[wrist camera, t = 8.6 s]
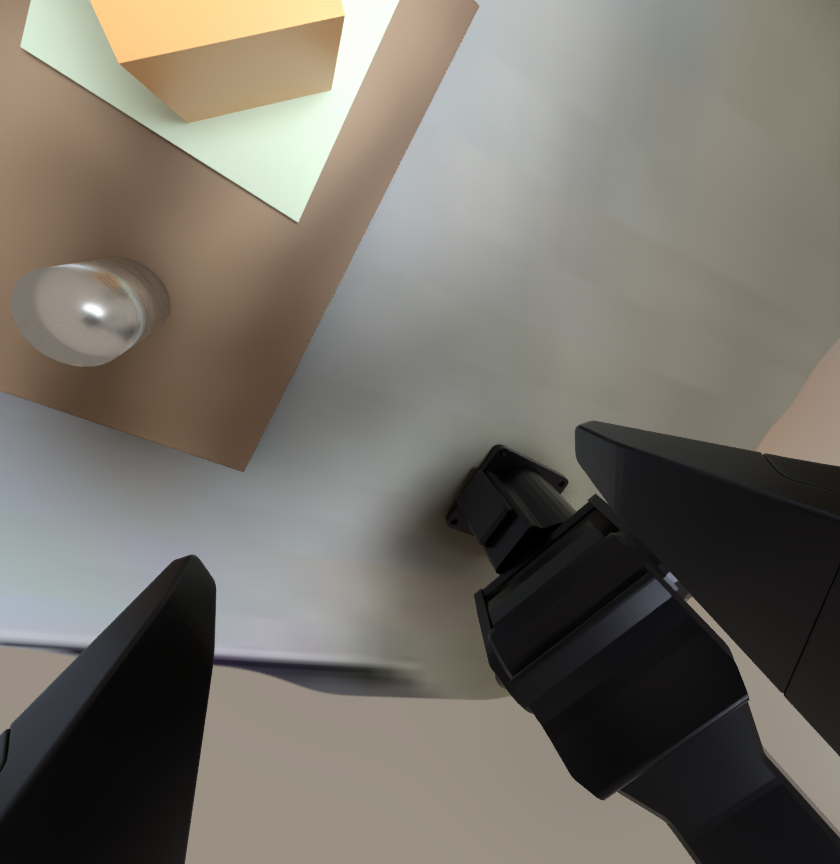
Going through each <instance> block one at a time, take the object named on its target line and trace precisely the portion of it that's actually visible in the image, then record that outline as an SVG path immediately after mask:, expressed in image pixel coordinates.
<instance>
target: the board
mask: <svg viewBox="0 0 840 864" xmlns="http://www.w3.org/2000/svg"><path fill="white" fill-rule="evenodd" d="M30 2H31V0H0V391H3V392H6V393H9V394H12V395H15V396H18V397H21V398H24V399H27V400H30V401H33V402H36V403H39V404H42V405H45V406H48V407H51V408H54V409H57V410H60V411H63V412H66V413H69V414H71V415H74V416H77V417H80V418H83V419H86V420H89V421H92V422H95V423H98V424H101V425H104V426H107V427H110V428H113V429H116V430H119V431H122V432H125V433H128V434H131V435H134V436H137V437H140V438H143V439H146V440H149V441H152V442H155V443H158V444H161V445H164V446H167V447H170V448H173V449H176V450H179V451H182V452H185V453H188V454H191V455H194V456H197V457H200V458H203V459H206V460H209V461H212V462H215V463H218V464H221V465H224V466H227V467H230V468H233V469H236V470H239V471H242V472H244V471H245V469H246V467H247V465H248V463H249V461H250V459H251V457H252V455H253V453H254V451H255V449H256V447H257V445H258V443H259V441H260V439H261V437H262V435H263V433H264V431H265V429H266V427H267V425H268V423H269V421H270V419H271V417H272V415H273V413H274V411H275V409H276V407H277V405H278V403H279V401H280V399H281V397H282V395H283V393H284V391H285V389H286V387H287V385H288V384H289V382H290V380H291V378H292V376H293V374H294V372H295V370H296V368H297V366H298V364H299V362H300V360H301V358H302V356H303V354H304V352H305V350H306V348H307V346H308V344H309V342H310V340H311V338H312V336H313V334H314V332H315V330H316V328H317V326H318V324H319V322H320V320H321V318H322V316H323V314H324V312H325V310H326V308H327V306H328V304H329V302H330V300H331V298H332V297H333V295H334V293H335V291H336V289H337V287H338V285H339V283H340V281H341V279H342V277H343V275H344V273H345V271H346V269H347V267H348V265H349V263H350V261H351V259H352V257H353V255H354V253H355V251H356V249H357V247H358V245H359V243H360V241H361V239H362V237H363V235H364V233H365V231H366V229H367V227H368V225H369V223H370V221H371V219H372V217H373V215H374V213H375V212H376V210H377V208H378V206H379V204H380V202H381V200H382V198H383V196H384V194H385V192H386V190H387V188H388V186H389V184H390V182H391V180H392V178H393V176H394V174H395V172H396V170H397V168H398V166H399V164H400V162H401V160H402V158H403V156H404V154H405V152H406V150H407V148H408V146H409V144H410V142H411V140H412V138H413V136H414V134H415V132H416V130H417V128H418V126H419V125H420V123H421V121H422V119H423V117H424V115H425V113H426V111H427V109H428V107H429V105H430V103H431V101H432V99H433V97H434V95H435V93H436V91H437V89H438V87H439V85H440V83H441V81H442V79H443V77H444V75H445V73H446V71H447V69H448V67H449V65H450V63H451V61H452V59H453V57H454V55H455V53H456V51H457V49H458V47H459V45H460V43H461V41H462V39H463V38H464V36H465V34H466V32H467V30H468V28H469V26H470V24H471V22H472V20H473V18H474V16H475V14H476V12H477V10H478V8H479V5H478V4H477V3H476V2H475V1H474V0H399V3H398V5H397V7H396V9H395V11H394V14H393V16H392V18H391V20H390V22H389V25H388V27H387V29H386V31H385V33H384V35H383V38H382V40H381V42H380V44H379V46H378V49H377V51H376V53H375V55H374V57H373V60H372V62H371V64H370V66H369V68H368V71H367V73H366V75H365V77H364V79H363V82H362V84H361V86H360V88H359V90H358V93H357V95H356V97H355V99H354V101H353V104H352V106H351V108H350V110H349V112H348V115H347V117H346V119H345V121H344V123H343V126H342V128H341V130H340V132H339V134H338V137H337V139H336V141H335V143H334V145H333V148H332V150H331V152H330V154H329V156H328V159H327V161H326V163H325V165H324V167H323V169H322V172H321V174H320V176H319V178H318V180H317V183H316V185H315V187H314V189H313V191H312V194H311V196H310V198H309V200H308V202H307V205H306V207H305V209H304V211H303V213H302V216H301V218H300V220H299V222H296V221H295V220H293V219H292V218H290V217H288V216H287V215H285V214H284V213H282V212H281V211H279V210H277V209H276V208H274V207H273V206H271V205H269V204H268V203H266V202H265V201H263V200H262V199H260V198H258V197H257V196H255V195H254V194H252V193H250V192H249V191H247V190H246V189H244V188H243V187H241V186H239V185H238V184H236V183H235V182H233V181H232V180H230V179H228V178H227V177H225V176H224V175H222V174H220V173H219V172H217V171H216V170H214V169H213V168H211V167H209V166H208V165H206V164H205V163H203V162H201V161H200V160H198V159H197V158H195V157H194V156H192V155H190V154H189V153H187V152H186V151H184V150H183V149H181V148H179V147H178V146H176V145H175V144H173V143H171V142H170V141H168V140H167V139H165V138H164V137H162V136H160V135H159V134H157V133H156V132H154V131H153V130H151V129H149V128H148V127H146V126H145V125H143V124H141V123H140V122H138V121H137V120H135V119H134V118H132V117H130V116H129V115H127V114H126V113H124V112H122V111H121V110H119V109H118V108H116V107H115V106H113V105H111V104H110V103H108V102H107V101H105V100H104V99H102V98H100V97H99V96H97V95H96V94H94V93H92V92H91V91H89V90H88V89H86V88H85V87H83V86H81V85H80V84H78V83H77V82H75V81H74V80H72V79H70V78H69V77H67V76H66V75H64V74H62V73H61V72H59V71H58V70H56V69H55V68H53V67H51V66H50V65H48V64H47V63H45V62H43V61H42V60H40V59H39V58H37V57H36V56H34V55H32V54H31V53H29V52H28V51H26V50H25V49H23V48H21V47H20V45H21V41H22V37H23V32H24V28H25V24H26V19H27V15H28V11H29V6H30ZM109 257H124V258H129V259H132V260H135V261H137V262H139V263H141V264H143V265H145V266H147V267H148V268H149V269H151V270H152V271H153V272H154V273H155V274H156V275H157V276H158V277H159V278H160V279H161V281H162V282H163V283H164V285H165V287H166V289H167V291H168V294H169V297H170V313H169V316H168V318H167V320H166V321H165V323H164V324H163V325H162V326H161V327H160V328H158V329H157V330H155V331H154V332H153V333H151V334H150V335H148V336H147V337H145V338H144V339H142V340H141V341H140V342H138V343H137V344H135V345H134V346H132V347H131V348H129V349H128V350H127V351H125V352H124V353H122V354H121V355H119V356H118V357H116V358H115V359H113V360H112V361H110V362H108V363H105V364H102V365H98V366H90V367H81V366H73V365H69V364H65V363H62V362H59V361H57V360H54V359H52V358H50V357H48V356H46V355H44V354H43V353H41V352H40V351H38V350H37V349H36V348H35V347H33V346H32V345H31V344H30V343H29V342H28V341H27V340H26V339H25V338H24V337H23V335H22V334H21V333H20V331H19V330H18V328H17V327H16V324H15V322H14V320H13V317H12V314H11V309H10V297H11V293H12V290H13V288H14V286H15V284H16V283H17V282H18V281H19V279H20V278H22V277H23V276H24V275H26V274H27V273H29V272H31V271H34V270H37V269H41V268H46V267H52V266H59V265H65V264H71V263H78V262H84V261H90V260H96V259H103V258H109Z"/></svg>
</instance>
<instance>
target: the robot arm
mask: <svg viewBox="0 0 840 864" xmlns="http://www.w3.org/2000/svg"><path fill="white" fill-rule="evenodd" d="M501 452H503V454H502V455H500V456H498V455H499V453H501ZM575 453H576V458H577V461H578V463H579V464H580V466H581V467H582V469H583V470H584V471H585V473H586V474H587V475H588V477H589V478H590V479H591V481H592V482H593V483H594V485H595V486H596V488H597V489H598V490H599V492H600V493H601V494H602V496H603V497H604V498H605V500H606V501H607V502H608V504H609V505H610V506H609V505H608V504H607V503H606V502H605V501H604V500H602V499H601V498H600V497H599V496H598V495H596V494H594V495H593V496H592V497H591V498H590V499H588V501H589V502H588V503H587V504H585V505H584V506H583V507H582V508H581V509H579V510H578V511H577V512H576V511H575V510H574V509H573V508H572V507H571V505H570V504H569V503H568V502H567V501H566V500H565V499H564V498H563V497H562V496H561V495H560V494H561V492H562V491H563V490H564V489H565V487H566V486H567V484H568V480H567V479H566V478H565V477H564V476H563V475H562V474H560V473H558V472H556V471H554V470H552V469H550V468H548V467H546V466H544V465H542V464H540V463H538V462H536V461H534V460H532V459H530V458H528V457H526V456H523V455H521V454H519V453H517V452H515V451H513V450H511V449H509V448H507V447H505V446H503V445H499V446H497V447H495V448H494V449H493V451H492V452H491V454H490V455H489V457H488V458H487V459H486V461H485V462H484V464H483V465H482V466H481V468H480V469H479V471H478V472H477V473H476V474H475V476H474V477H473V479H472V480H471V481H470V483H469V484H468V486H467V487H466V488H465V490H464V491H463V493H462V494H461V496H460V497H459V498H458V500H457V502H456V503H455V505H454V506H453V508H452V509H451V510H450V512H449V513H448V515H447V516H446V522H447V524H448V526H449V527H451V528H454V529H456V530H459V531H462V532H465V533H468V534H471V535H473V536H475V538H476V540H477V541H478V543H479V545H481V546H482V548H483V550H484V551H485V553H486V555H487V557H488V559H489V561H490V562H491V564H492V566H493V568H494V570H495V571H496V573H497V574H500V576H499V577H497V578H496V579H495V580H494V581H493V582H491V583H490V584H489V585H488V586H487V587H485V588H484V589H480V590H479V591H478V592H477V593H475V594H474V598H475V603H476V607H477V613H478V618H479V622H480V627H481V631H482V635H483V640H484V644H485V649H486V653H487V657H488V662H489V665H490V667H491V668H492V670H493V671H494V672H495V678H496V680H497V682H498V684H499V685H500V686H501V687H502V688H504V689H507V691H508V692H509V693H510V695H511V696H512V697H513V698H514V699H515V700H516V702H517V703H518V704H520V705H521V706H522V707H523V708H524V709H525V710H526V711H528V712H529V713H532V714H534V715H535V717H536V718H537V720H538V721H539V722H540V724H541V725H542V727H543V729H544V730H545V732H546V733H547V735H548V737H549V738H550V740H551V742H552V743H553V745H554V747H555V749H556V750H557V752H558V754H559V756H560V757H561V759H562V761H563V762H564V764H565V766H566V767H567V769H568V771H569V773H570V774H571V776H572V777H573V778H574V779H575V780H576V781H577V782H578V783H579V784H581V785H582V786H583V787H584V788H586V789H587V790H588V791H590V792H591V793H592V794H593V795H594V796H596V797H597V798H599V799H600V800H605V799H607V798H608V797H610V796H611V795H613V794H614V793H616V792H618V793H620V794H621V795H623V796H625V797H627V798H628V799H630V800H631V801H633V802H634V803H636V804H638V805H639V806H641V807H643V808H645V809H646V810H648V811H649V812H651V813H653V814H654V815H656V816H657V817H659V818H661V819H662V820H664V821H665V822H666V823H667V825H668V826H669V827H670V828H671V830H672V831H673V833H674V834H675V835H676V836H677V838H678V839H679V841H680V842H681V843H682V845H683V846H684V848H685V849H686V850H687V852H688V853H689V855H690V856H691V857H692V859H693V860H694V861H695V863H696V864H840V832H839V831H838V830H837V829H836V827H835V826H834V825H833V824H832V823H831V822H830V821H829V820H828V818H827V817H826V816H825V815H824V814H823V813H822V812H821V811H820V809H819V808H818V807H817V806H816V805H815V804H814V803H813V802H812V801H811V799H810V798H809V797H808V796H807V795H806V794H805V793H804V792H803V791H802V789H801V788H800V787H799V786H798V785H797V784H796V783H795V782H794V780H793V779H792V778H791V777H790V776H789V775H788V774H787V773H786V772H785V771H784V769H783V768H782V767H781V766H780V765H779V764H778V763H777V762H776V760H775V759H774V758H773V757H772V756H771V755H770V754H769V753H768V752H767V750H766V749H765V748H764V747H763V746H762V744H761V741H760V738H759V735H758V732H757V729H756V726H755V722H754V719H753V717H752V713H751V710H750V707H749V704H748V701H749V696H748V693H747V690H746V687H745V685H744V683H743V680H742V677H741V675H740V672H739V670H738V667H737V665H736V663H735V661H734V659H733V655H732V653H731V651H730V649H729V647H728V646H727V645H726V643H725V642H724V641H723V640H722V639H721V638H720V637H719V636H718V635H717V634H716V633H715V631H714V630H713V629H712V628H710V626H709V625H708V624H707V623H706V622H705V621H704V620H703V619H702V618H701V617H700V616H699V615H698V614H697V613H696V612H695V611H694V610H693V609H692V608H691V607H690V606H689V605H688V604H687V602H686V601H687V600H689V599H690V598H691V597H694V598H695V600H696V601H697V602H698V603H699V604H700V605H701V606H702V607H703V608H704V609H705V610H706V611H707V613H708V614H709V615H710V616H711V617H712V618H713V619H714V620H715V621H716V622H717V623H718V624H719V626H720V627H721V628H722V629H723V630H724V631H725V632H726V633H727V634H728V635H729V636H730V637H731V639H732V640H733V641H734V642H735V643H736V644H737V645H738V646H739V647H740V648H741V649H742V650H743V652H744V653H746V655H747V656H748V657H749V658H750V659H751V660H752V661H753V662H754V664H755V665H756V666H758V668H759V669H760V670H761V671H762V672H763V673H764V674H765V675H766V676H767V678H768V679H769V680H770V681H771V682H772V683H773V684H774V685H775V686H776V687H777V688H778V690H779V691H780V692H782V693H784V696H785V698H786V699H787V700H788V701H789V702H790V703H791V704H792V705H793V706H794V707H795V708H796V709H797V711H798V712H799V713H800V714H801V715H802V716H803V717H804V718H805V719H806V720H807V721H808V722H809V724H810V725H811V726H812V727H813V728H814V729H815V730H816V731H817V732H818V733H819V734H820V735H821V737H823V739H824V740H825V741H826V742H827V743H828V744H829V745H830V746H831V747H832V749H833V750H834V751H835V752H836V753H837V754H838V755H839V756H840V466H833V465H827V464H821V463H815V462H810V461H804V460H798V459H793V458H787V457H782V456H777V455H772V454H763V455H762V454H761V453H760V452H756V451H750V450H745V449H740V448H735V447H729V446H724V445H719V444H714V443H708V442H703V441H698V440H693V439H687V438H682V437H677V436H672V435H666V434H661V433H656V432H651V431H645V430H640V429H635V428H630V427H625V426H619V425H614V424H609V423H604V422H598V421H589V422H586V423H583V424H580V425H578V426H577V427H576V429H575ZM560 481H561V482H560ZM559 482H560V483H559ZM453 519H455V520H454V521H452V520H453ZM215 616H216V585H215V581H214V579H213V577H212V576H211V575H210V573H209V572H208V570H207V569H206V567H205V566H204V565H203V563H202V562H201V560H200V559H199V558H198V557H197V556H196V555H188V556H185V557H182V558H179V559H176V560H174V561H173V562H171V563H170V564H169V565H168V566H167V567H166V568H165V569H164V570H163V572H162V573H161V574H160V575H159V576H158V577H157V578H156V579H155V580H154V581H153V582H152V583H151V584H150V585H149V586H148V587H147V588H146V589H145V590H144V591H143V592H142V593H141V594H140V595H139V596H138V597H137V598H136V599H135V600H134V601H133V602H132V603H131V604H130V605H129V606H128V607H127V608H126V609H125V610H124V611H123V612H122V613H121V614H120V615H119V616H118V617H117V618H116V619H115V620H114V621H113V622H112V623H111V624H110V625H109V626H108V627H107V628H106V629H105V630H104V631H103V632H102V633H101V634H100V635H99V636H98V637H97V638H96V639H95V640H94V641H93V642H92V643H91V644H90V645H89V646H88V647H87V648H86V649H85V650H84V651H83V652H82V653H81V654H80V655H79V656H78V657H77V658H76V659H75V660H74V661H73V662H72V663H71V664H70V666H69V667H67V668H66V669H65V670H64V671H63V672H62V673H61V674H60V675H59V677H57V678H56V680H54V682H52V684H50V685H49V686H48V687H47V689H46V690H45V691H44V692H43V693H42V694H41V695H40V696H39V697H38V698H37V699H36V700H35V701H34V702H33V703H32V704H31V705H30V706H29V707H28V708H27V709H26V710H25V711H24V712H23V713H22V714H21V715H20V716H19V717H18V718H17V719H16V720H15V721H14V722H13V723H12V724H11V726H10V729H6V730H5V731H4V732H3V733H2V734H1V735H0V864H185V858H186V851H187V844H188V837H189V830H190V823H191V816H192V809H193V801H194V795H195V788H196V781H197V774H198V767H199V760H200V753H201V745H202V739H203V732H204V725H205V718H206V711H207V704H208V697H209V690H210V683H211V676H212V669H213V661H214V648H215Z"/></svg>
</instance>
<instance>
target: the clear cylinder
mask: <svg viewBox="0 0 840 864" xmlns="http://www.w3.org/2000/svg"><path fill="white" fill-rule="evenodd" d="M10 309H11V314H12V317H13V320H14V322H15V324H16V327H17V328H18V330H19V331H20V333H21V334H22V335H23V337H24V338H25V339H26V340H27V341H28V342H29V343H30V344H31V345H32V346H33V347H35V348H36V349H37V350H38V351H40V352H41V353H43V354H44V355H46V356H48V357H50V358H52V359H54V360H57V361H59V362H62V363H65V364H69V365H73V366H81V367H90V366H98V365H102V364H105V363H108V362H110V361H112V360H113V359H115V358H116V357H118V356H119V355H121V354H122V353H124V352H125V351H127V350H128V349H129V348H131V347H132V346H134V345H135V344H137V343H138V342H140V341H141V340H142V339H144V338H145V337H147V336H148V335H150V334H151V333H153V332H154V331H155V330H157V329H158V328H160V327H161V326H162V325H163V324H164V323H165V321H166V320H167V318H168V316H169V313H170V297H169V294H168V291H167V289H166V287H165V285H164V283H163V282H162V281H161V279H160V278H159V277H158V276H157V275H156V274H155V273H154V272H153V271H152V270H151V269H149V268H148V267H147V266H145V265H143V264H141V263H139V262H137V261H135V260H132V259H129V258H124V257H109V258H103V259H96V260H90V261H84V262H78V263H71V264H65V265H59V266H52V267H46V268H41V269H37V270H34V271H31V272H29V273H27V274H26V275H24V276H23V277H22V278H20V279H19V281H18V282H17V283H16V284H15V286H14V288H13V290H12V293H11V297H10Z"/></svg>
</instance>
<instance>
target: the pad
mask: <svg viewBox="0 0 840 864" xmlns="http://www.w3.org/2000/svg"><path fill="white" fill-rule="evenodd" d="M341 1H342V5H343V9H344V14H345V18H344V23H343V29H342V34H341V40H340V45H339V51H338V56H337V62H336V67H335V73H334V78H333V84H332V89H331V90H329V91H325V92H321V93H316V94H312V95H308V96H303V97H299V98H295V99H290V100H286V101H282V102H277V103H273V104H269V105H264V106H260V107H256V108H252V109H247V110H243V111H239V112H234V113H230V114H226V115H221V116H217V117H213V118H208V119H204V120H200V121H195V122H191V123H187V122H186V121H185V120H184V119H182V118H181V117H180V116H179V115H178V114H177V113H175V112H174V111H173V110H172V109H171V108H170V107H169V106H167V105H166V104H165V103H164V102H163V101H162V100H160V99H159V98H158V97H157V96H156V95H155V94H153V93H152V92H151V91H150V90H149V89H148V88H147V87H145V86H144V85H143V84H142V83H141V82H140V81H138V80H137V79H136V78H135V77H134V76H133V75H131V74H130V73H129V72H128V71H127V70H126V69H125V68H123V67H122V66H121V65H120V64H119V63H118V61H117V59H116V56H115V54H114V52H113V50H112V48H111V46H110V43H109V41H108V39H107V37H106V35H105V32H104V30H103V28H102V26H101V24H100V22H99V19H98V17H97V15H96V13H95V11H94V9H93V6H92V4H91V2H90V0H31V2H30V6H29V11H28V15H27V19H26V24H25V28H24V32H23V37H22V41H21V45H20V47H21V48H23V49H25V50H26V51H28V52H29V53H31V54H32V55H34V56H36V57H37V58H39V59H40V60H42V61H43V62H45V63H47V64H48V65H50V66H51V67H53V68H55V69H56V70H58V71H59V72H61V73H62V74H64V75H66V76H67V77H69V78H70V79H72V80H74V81H75V82H77V83H78V84H80V85H81V86H83V87H85V88H86V89H88V90H89V91H91V92H92V93H94V94H96V95H97V96H99V97H100V98H102V99H104V100H105V101H107V102H108V103H110V104H111V105H113V106H115V107H116V108H118V109H119V110H121V111H122V112H124V113H126V114H127V115H129V116H130V117H132V118H134V119H135V120H137V121H138V122H140V123H141V124H143V125H145V126H146V127H148V128H149V129H151V130H153V131H154V132H156V133H157V134H159V135H160V136H162V137H164V138H165V139H167V140H168V141H170V142H171V143H173V144H175V145H176V146H178V147H179V148H181V149H183V150H184V151H186V152H187V153H189V154H190V155H192V156H194V157H195V158H197V159H198V160H200V161H201V162H203V163H205V164H206V165H208V166H209V167H211V168H213V169H214V170H216V171H217V172H219V173H220V174H222V175H224V176H225V177H227V178H228V179H230V180H232V181H233V182H235V183H236V184H238V185H239V186H241V187H243V188H244V189H246V190H247V191H249V192H250V193H252V194H254V195H255V196H257V197H258V198H260V199H262V200H263V201H265V202H266V203H268V204H269V205H271V206H273V207H274V208H276V209H277V210H279V211H281V212H282V213H284V214H285V215H287V216H288V217H290V218H292V219H293V220H295V221H296V222H299V220H300V218H301V216H302V213H303V211H304V209H305V207H306V205H307V202H308V200H309V198H310V196H311V194H312V191H313V189H314V187H315V185H316V183H317V180H318V178H319V176H320V174H321V172H322V169H323V167H324V165H325V163H326V161H327V159H328V156H329V154H330V152H331V150H332V148H333V145H334V143H335V141H336V139H337V137H338V134H339V132H340V130H341V128H342V126H343V123H344V121H345V119H346V117H347V115H348V112H349V110H350V108H351V106H352V104H353V101H354V99H355V97H356V95H357V93H358V90H359V88H360V86H361V84H362V82H363V79H364V77H365V75H366V73H367V71H368V68H369V66H370V64H371V62H372V60H373V57H374V55H375V53H376V51H377V49H378V46H379V44H380V42H381V40H382V38H383V35H384V33H385V31H386V29H387V27H388V25H389V22H390V20H391V18H392V16H393V14H394V11H395V9H396V7H397V5H398V3H399V0H341Z"/></svg>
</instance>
